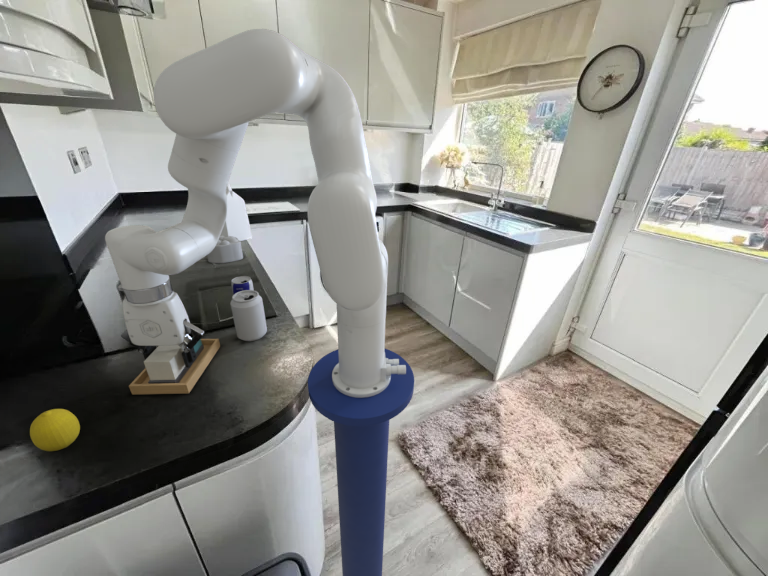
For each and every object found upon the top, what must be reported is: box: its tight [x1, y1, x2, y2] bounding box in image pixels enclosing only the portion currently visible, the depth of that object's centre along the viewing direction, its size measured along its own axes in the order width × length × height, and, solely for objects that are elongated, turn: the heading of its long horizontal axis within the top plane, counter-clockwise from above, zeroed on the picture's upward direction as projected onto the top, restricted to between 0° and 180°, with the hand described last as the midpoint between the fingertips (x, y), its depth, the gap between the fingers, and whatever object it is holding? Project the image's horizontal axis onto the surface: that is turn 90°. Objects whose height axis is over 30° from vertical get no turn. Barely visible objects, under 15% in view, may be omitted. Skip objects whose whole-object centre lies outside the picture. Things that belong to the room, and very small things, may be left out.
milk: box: [220, 183, 253, 242], centre depth 154 cm, size 12×12×26 cm
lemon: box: [29, 408, 81, 452], centre depth 53 cm, size 6×6×8 cm
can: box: [229, 290, 268, 342], centre depth 83 cm, size 8×8×12 cm
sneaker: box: [143, 336, 204, 384], centre depth 71 cm, size 13×5×6 cm, turn 4°
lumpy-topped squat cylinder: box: [206, 236, 244, 264], centre depth 133 cm, size 10×13×9 cm
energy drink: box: [230, 275, 255, 296], centre depth 91 cm, size 5×5×12 cm
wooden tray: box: [128, 338, 221, 395], centre depth 73 cm, size 11×16×2 cm
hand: (172, 363), depth 70 cm, fingers open, 7 cm apart
